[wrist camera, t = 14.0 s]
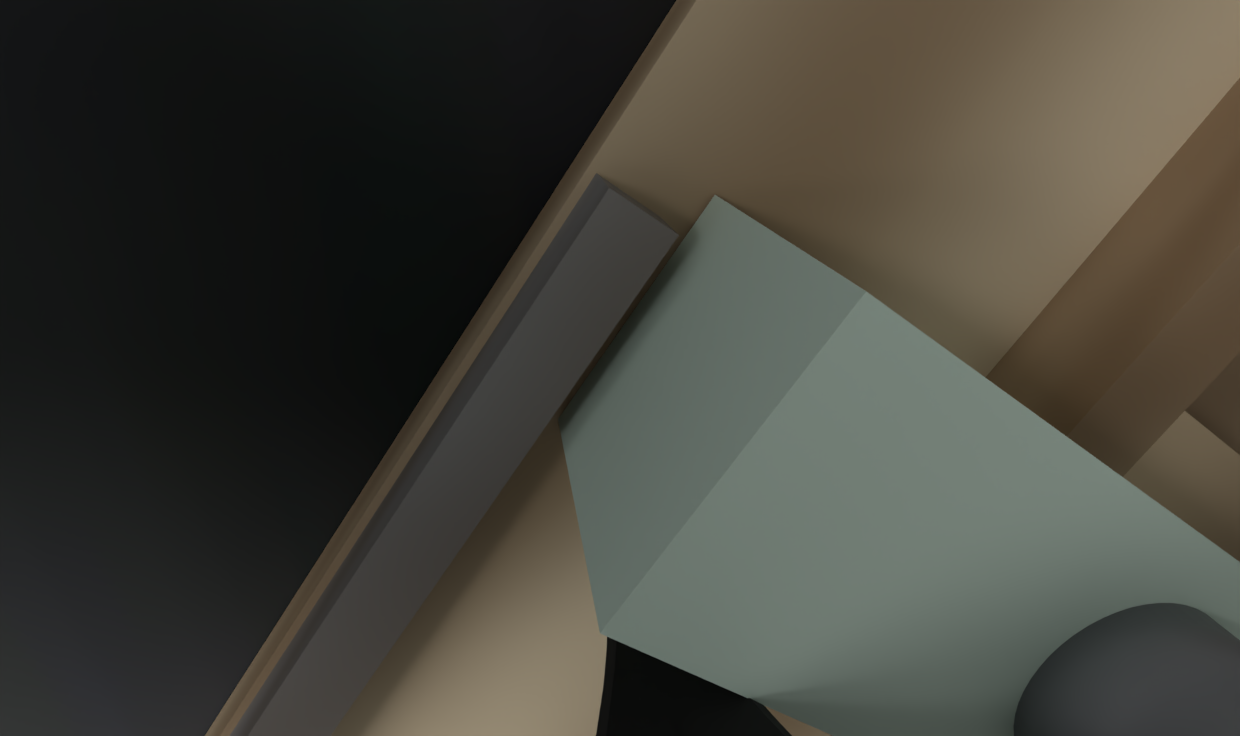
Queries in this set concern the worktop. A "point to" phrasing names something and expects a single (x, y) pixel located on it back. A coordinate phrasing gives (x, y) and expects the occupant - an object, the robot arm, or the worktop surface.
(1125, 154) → the oak jig
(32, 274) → the worktop surface
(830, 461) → the slider bar
